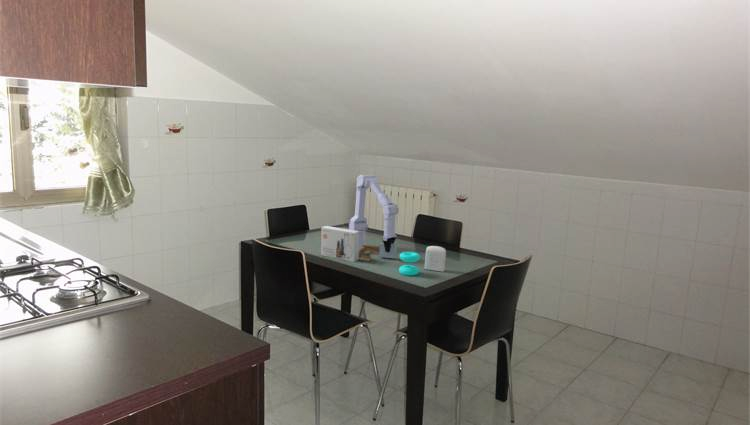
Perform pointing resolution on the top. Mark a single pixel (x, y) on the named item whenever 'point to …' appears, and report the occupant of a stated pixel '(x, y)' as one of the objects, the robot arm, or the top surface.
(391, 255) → the light blue block
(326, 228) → the skincare box
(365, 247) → the brown wooden l-shape
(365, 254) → the offcut stack
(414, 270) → the donuts
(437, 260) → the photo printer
